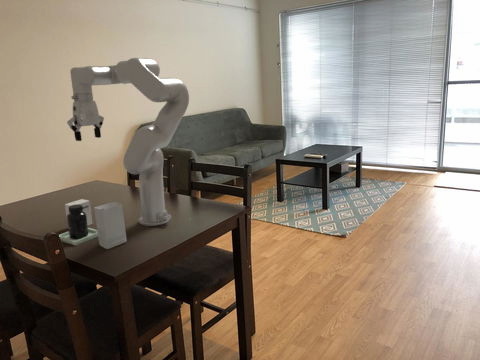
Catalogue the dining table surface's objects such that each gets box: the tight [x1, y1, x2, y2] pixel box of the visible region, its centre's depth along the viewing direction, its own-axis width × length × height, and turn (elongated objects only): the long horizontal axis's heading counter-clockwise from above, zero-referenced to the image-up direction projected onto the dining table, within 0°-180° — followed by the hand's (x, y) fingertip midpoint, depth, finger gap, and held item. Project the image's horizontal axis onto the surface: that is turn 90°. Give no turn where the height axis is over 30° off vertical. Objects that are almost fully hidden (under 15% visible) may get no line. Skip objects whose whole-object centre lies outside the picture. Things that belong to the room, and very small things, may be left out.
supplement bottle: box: [66, 204, 89, 239], centre depth 152 cm, size 7×7×12 cm
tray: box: [58, 227, 98, 247], centre depth 153 cm, size 12×12×2 cm
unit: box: [64, 198, 93, 226], centre depth 164 cm, size 6×8×10 cm
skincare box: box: [93, 201, 128, 250], centre depth 144 cm, size 8×6×15 cm
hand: (88, 139), depth 172 cm, fingers open, 9 cm apart
